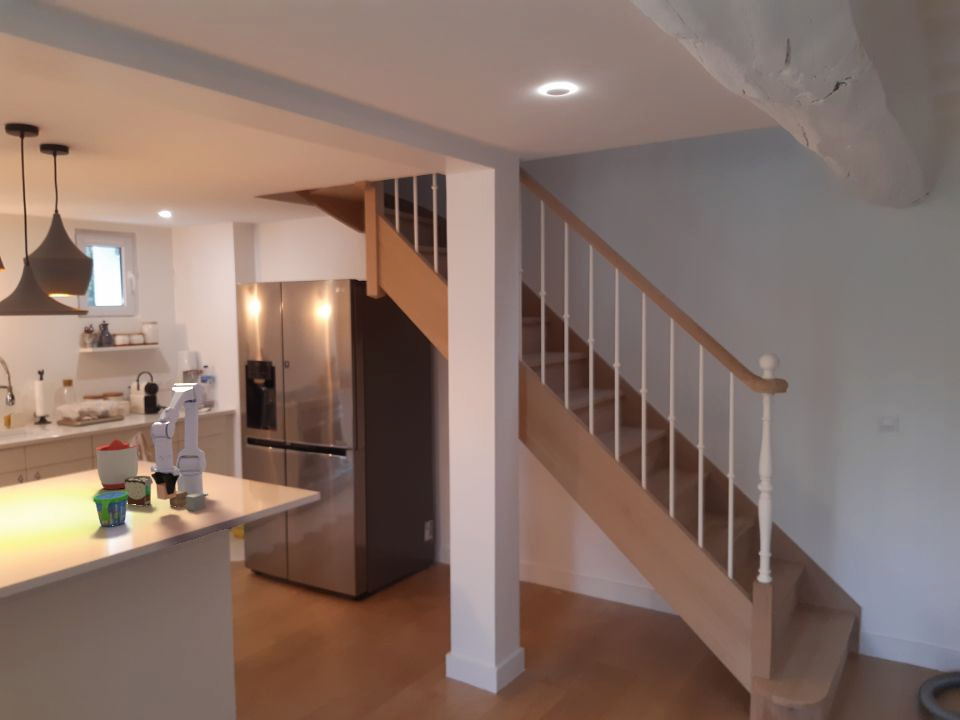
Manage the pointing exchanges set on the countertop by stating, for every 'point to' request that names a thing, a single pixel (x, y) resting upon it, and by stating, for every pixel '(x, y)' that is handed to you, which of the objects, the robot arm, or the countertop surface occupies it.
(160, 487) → the terracotta block
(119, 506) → the snack cup
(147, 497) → the food container
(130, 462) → the citrus juicer
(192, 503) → the slate block
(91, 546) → the countertop surface
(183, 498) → the walnut block
